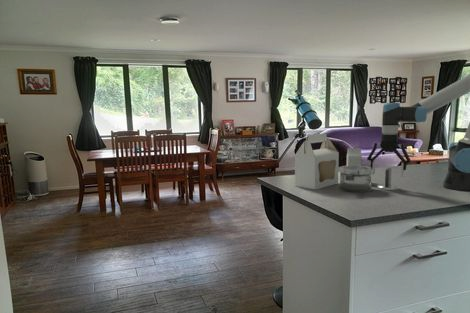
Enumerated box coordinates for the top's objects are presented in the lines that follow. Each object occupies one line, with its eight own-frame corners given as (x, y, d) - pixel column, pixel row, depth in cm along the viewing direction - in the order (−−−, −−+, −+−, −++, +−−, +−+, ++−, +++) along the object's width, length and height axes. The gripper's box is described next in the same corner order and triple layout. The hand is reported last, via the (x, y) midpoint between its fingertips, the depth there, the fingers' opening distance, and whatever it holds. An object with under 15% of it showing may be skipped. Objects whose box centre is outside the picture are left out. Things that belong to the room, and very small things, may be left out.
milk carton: (361, 182, 191) (361, 148, 189) (347, 182, 193) (348, 148, 190) (359, 180, 198) (359, 147, 196) (346, 179, 200) (346, 147, 197)
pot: (375, 187, 179) (375, 166, 177) (365, 196, 161) (365, 173, 160) (344, 184, 187) (344, 164, 186) (331, 192, 170) (331, 170, 168)
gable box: (318, 180, 201) (319, 132, 197) (338, 183, 191) (339, 133, 188) (294, 186, 187) (294, 134, 183) (314, 190, 177) (314, 135, 173)
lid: (400, 187, 177) (400, 168, 176) (396, 191, 169) (397, 171, 168) (379, 185, 183) (380, 166, 182) (375, 189, 175) (376, 169, 173)
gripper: (418, 134, 169) (415, 176, 172) (365, 132, 182) (364, 171, 185) (416, 135, 162) (413, 178, 165) (362, 133, 176) (360, 173, 179)
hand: (387, 175), depth 175 cm, fingers open, 13 cm apart
